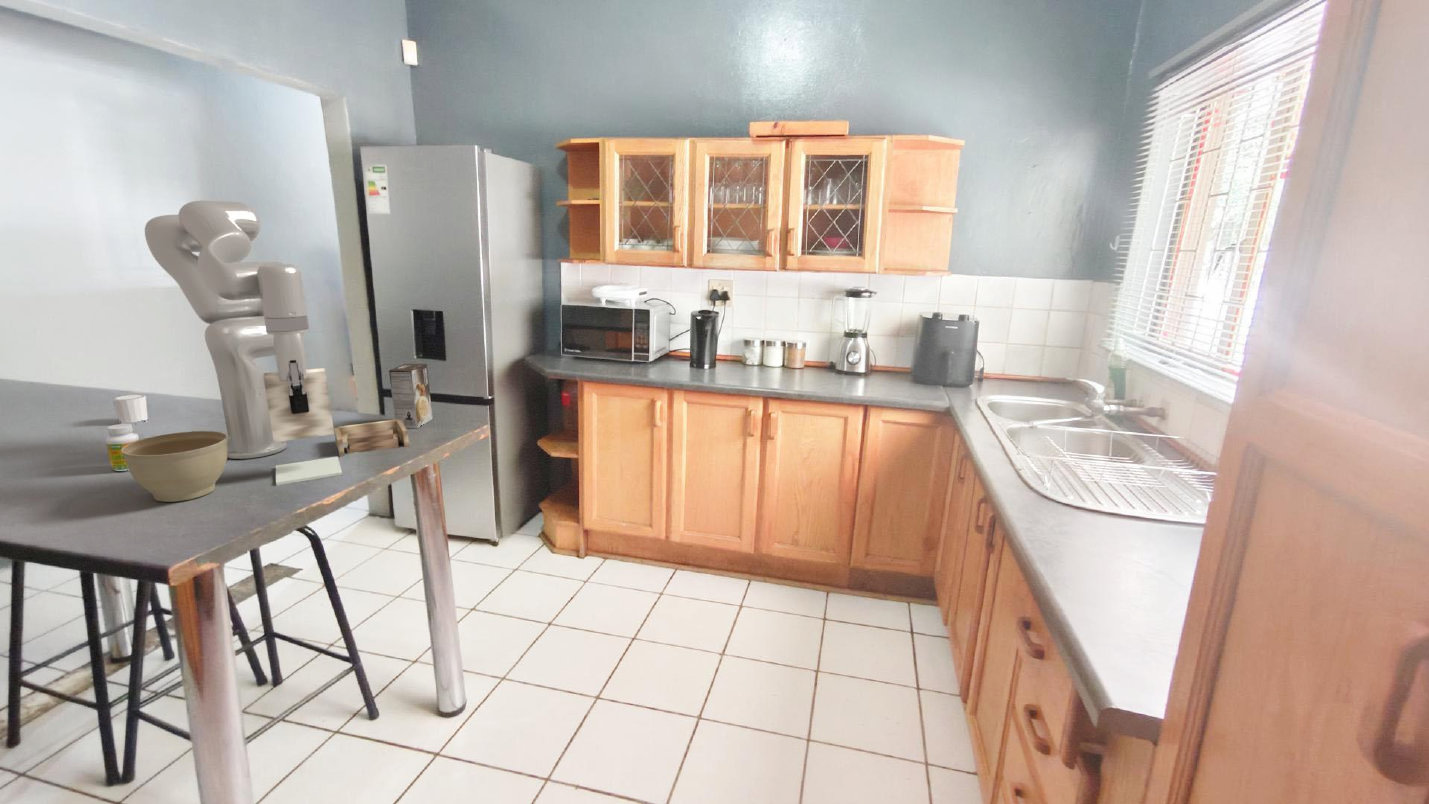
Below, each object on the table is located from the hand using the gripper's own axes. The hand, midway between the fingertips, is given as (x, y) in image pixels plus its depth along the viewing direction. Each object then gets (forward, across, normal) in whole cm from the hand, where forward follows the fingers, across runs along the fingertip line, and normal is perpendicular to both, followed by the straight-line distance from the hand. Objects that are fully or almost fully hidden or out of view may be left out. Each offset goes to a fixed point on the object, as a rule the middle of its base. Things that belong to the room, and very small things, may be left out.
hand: (300, 409), depth 139 cm
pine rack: (+14, -14, +14) cm, 24 cm away
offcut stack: (+14, -11, +14) cm, 23 cm away
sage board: (+14, 0, 0) cm, 14 cm away
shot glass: (+14, -67, -38) cm, 79 cm away
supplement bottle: (+14, -22, -33) cm, 42 cm away
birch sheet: (+6, 0, 0) cm, 6 cm away
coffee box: (+14, -28, +26) cm, 41 cm away
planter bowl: (+14, +2, -21) cm, 26 cm away
